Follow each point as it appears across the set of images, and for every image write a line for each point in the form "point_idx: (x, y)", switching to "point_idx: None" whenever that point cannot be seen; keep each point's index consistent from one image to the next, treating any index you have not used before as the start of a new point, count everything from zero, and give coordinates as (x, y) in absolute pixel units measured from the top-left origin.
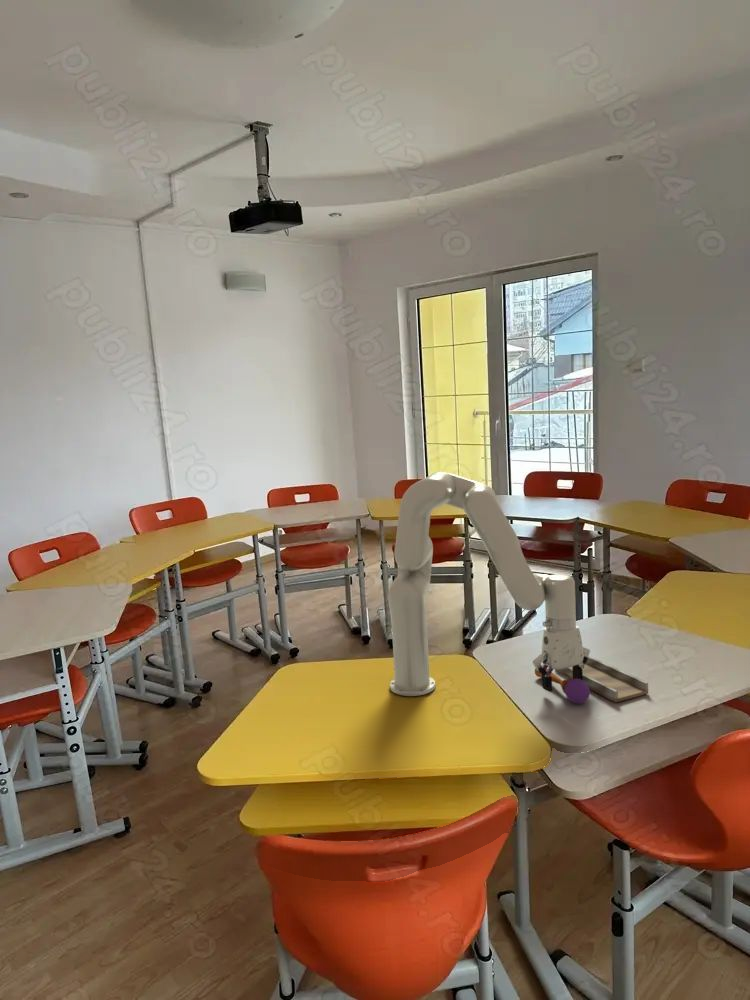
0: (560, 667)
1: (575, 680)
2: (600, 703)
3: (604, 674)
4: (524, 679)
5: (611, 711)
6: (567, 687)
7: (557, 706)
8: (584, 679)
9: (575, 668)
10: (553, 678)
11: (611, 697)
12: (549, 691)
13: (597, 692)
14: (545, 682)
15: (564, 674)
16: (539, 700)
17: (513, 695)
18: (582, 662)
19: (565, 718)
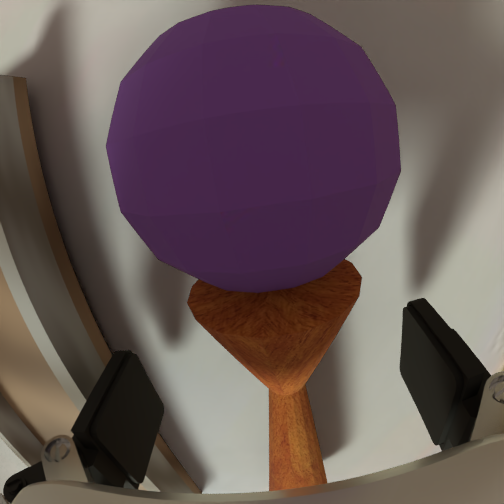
0: (439, 477)
1: (288, 138)
2: (97, 113)
3: (10, 390)
4: (366, 467)
5: (96, 7)
6: (398, 150)
7: (405, 164)
8: (92, 380)
9: (124, 464)
10: (313, 435)
11: (17, 109)
12: (421, 303)
13: (60, 240)
14: (471, 353)
15: (176, 465)
16: (451, 279)
17: (498, 354)
18: (48, 480)
19: (417, 14)
